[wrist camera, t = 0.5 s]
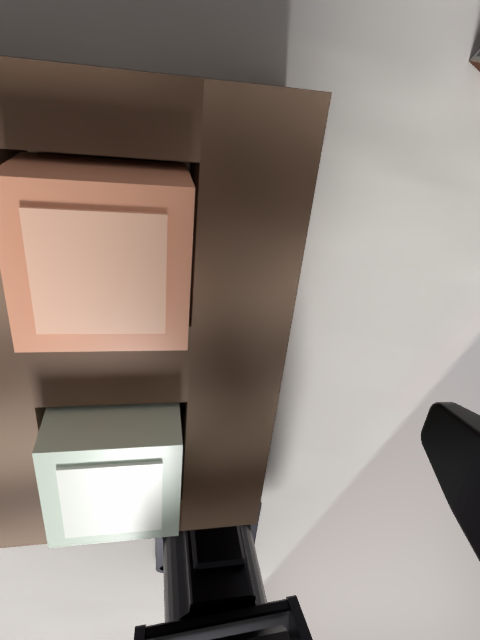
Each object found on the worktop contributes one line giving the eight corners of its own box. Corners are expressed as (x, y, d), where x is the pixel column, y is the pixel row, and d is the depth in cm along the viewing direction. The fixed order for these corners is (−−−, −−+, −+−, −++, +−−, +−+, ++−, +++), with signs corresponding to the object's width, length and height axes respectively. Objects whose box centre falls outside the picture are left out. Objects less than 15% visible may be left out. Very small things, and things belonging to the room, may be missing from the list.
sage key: (174, 469, 21) (178, 539, 18) (63, 476, 20) (47, 551, 17) (177, 384, 19) (183, 448, 16) (52, 388, 18) (31, 456, 15)
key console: (238, 449, 26) (256, 523, 22) (-1, 463, 24) (-35, 551, 19) (286, 86, 17) (331, 92, 13) (-95, 45, 14) (-198, 34, 10)
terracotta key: (180, 300, 17) (187, 352, 14) (40, 299, 16) (13, 355, 13) (185, 163, 14) (195, 188, 11) (20, 151, 13) (-18, 176, 10)
